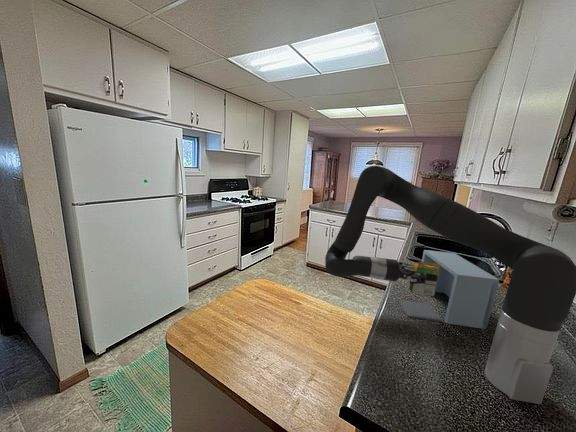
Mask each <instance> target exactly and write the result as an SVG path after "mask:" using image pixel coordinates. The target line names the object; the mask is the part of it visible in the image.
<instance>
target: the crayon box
mask: <svg viewBox="0 0 576 432" xmlns="http://www.w3.org/2000/svg"><path fill="white" fill-rule="evenodd" d="M424 264H430V265H434V266H428V265H424ZM413 265H414V269H413V270H418V272H421V273H427V274H434V275H437V276H438V275H439V271H440V266H441V264H435V263H427V262H422V261H418V263H414V264H413ZM414 275H415V273H414ZM437 280H438V278H437ZM436 284H437V281H436V282H434V281H427V280H426V282H425V283H422V284H411V283H409V290H410V292H411V293H412V294H420V295H424V296H432V297H434V296H435V293H436V292H435V289H436Z"/></svg>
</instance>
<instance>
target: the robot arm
mask: <svg viewBox="0 0 576 432" xmlns="http://www.w3.org/2000/svg"><path fill="white" fill-rule="evenodd" d="M378 197H379V198H381V199H382V198H383V199H384V200H386V201H389V202H391V203H393V204H396V205H398V206H399V207H401V208H402V209H404V210H405V211H407V212H408V213H409V214H410V215H411V216H412V218H414V219H415V220H416V221H418V222H419V223H420V224H422V225H423V226H425V227H426V228H428V229H430V230H431V231H433V232H435V233H436V234H438V235H440V236H442V237H444V238H446V239H447V240H451V241H453V242H455V243H458V244H461V245H464V246H467V247H469V248H473V249H475V250H478V251H480V252H483V253H484V254H487V255H488V256H490V257H492V258H494V260H497V261H498V262H500V263H502V264H503V265H505V266H506V267H508V268H509V269H511V270H512V272H511V275H510V279H509V282H508V287H507V291H506V293H505V295H504V300H503V301H502V305H501V310H500V313H499V318H498V320H497V325H496V327H495V332H494V335H493V338H492V343H491V346H490V348H489V349H490V350H489V354H488V358H487V362H486V364H485V369H484V376H485V377H486V379H487V380H488V381H489V383H491V384H492V385H493V386H494V387H495V388H496V389H498V391H501V392H502V393H503V394H505V395H506V396H507V397H508V398H509V399H510V400H514V401H518V402H519V401H521V402H523V403H524V402H525V403H531V404H536V405H542V403H543V399H544V397H545V393H546V391H547V387H548V385H549V382H550V379H551V377H552V373H553V370H554V366H553V365H552V364H551V363H550V361H551V357H552V355H553V352H554V349H555V346H556V343H557V340H558V338H559V334H560V330H561V328H562V325H563V323H564V322H565V321H566V320H567V318H568V316H569V313H570V310H571V308H572V305H573V302H574V300H575V297H576V264H575V262H574V261H573V260H572V258H570V257H569V256H568V255H567V254H566V253H565V252H563V251H561V250H559V249H558V248H554V247H552V246H549V245H546V244H544V243H542V242H539V241H536V240H533V239H531V238H528V237H525V236H523V235H521V234H518V233H515V232H513V231H511V230H509V229H506V228H504V227H503V226H501V225H499V224H498V223H496V222H494V221H493V220H491V219H489V218H488V217H487V216H485V215H482V214H480V213H479V212H477V211H475V210H473V209H471V208H469V207H468V206H465V205H463V204H461V203H459V202H457V201H455V200H453V199H452V198H449V197H446V196H444V195H441V194H439V193H437V192H434V191H431V190H428V189H425V188H423V187H420V186H417V185H415V184H413V183H411V182H409V181H408V180H406V179H404V178H403V177H401V176H399V175H398V174H397V173H395V172H393V171H392V170H390V169H389V168H386V167H384V166H381V165H380V166H379V165H376V164H375V165H369V166H367V167H366V168H364V169H363V170H362V171H361V173H360V175H359V177H358V180H357V183H356V185H355V189H354V193H353V196H352V200H351V201H350V204H349V205H350V206H349V208H348V211H347V214H346V216H345V218H344V221H343V223H342V225H341V226H340V229H339V231H338V233H337V235H336V237H335V240H334V241H333V242H332V244H331V245H330V247H329V248H328V250H327V252H326V254H325V256H324V257H325V258H324V261H325V265H324V266H325V267H324V268H325V270H326V272H327V273H328V274H330V275H331V276H333V277H338V278H339V277H340V278H343V277H353V276H359V277H366V278H371V279H375V280H381V281H387V282H394V283H395V282H397V281H398V279H402V280H405V281H409V284H410V283H411V284H422V283H425V282H426V280H427V281H434V282H436V281H437V278H438V276H437V275H434V274H427V273H421V272H418V270H413V269H414V264H409V263H406V262H402V261H398V260H397V259H392V258H385V257H378V256H377V257H375V256H374V257H372V256H366V255H355V256H353V257H352V258H351V259H350V258H348V259H347V258H346V257H347V255H348V254H349V253H351V252H353V250H354V249H355V248H356V245H357V244H358V242H359V240H360V238H361V236H362V234H363V232H364V228H365V223H366V219H367V215H368V213H369V210H370V208H371V206H372V204H373V203H374V201H375V200H376V198H378ZM414 273H415V275H414Z"/></svg>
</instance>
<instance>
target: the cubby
mask: <svg viewBox="0 0 576 432" xmlns="http://www.w3.org/2000/svg"><path fill="white" fill-rule="evenodd" d="M422 253H423V254H422V259H421V262H427V263H435V264H441V266H440V271H439V275H438V280H437V284H436V289H435V293H441V294H442V293H443V294H444V295H446V296H447V297H448V303H447V309H446V312H445V317H444V322H445V323H446V324H449V325H456V326H463V327H468V328H477V329H481V330H482V329H484V330H487V327H488V325H489V321H490V317H491V312H492V308H493V306H494V301H495V298H496V294H497V290H498V286H499V284H500V279H499V278H498V277H496V276H494V275H492V274H491V273H489V272H487V271H485V270H484V269H482V268H481V267H479V266H477V265H475V264H474V263H473V262H470V261H468V260H467V259H465V258H463V257H462V256H460V255H458V254H456V253H455V252H454V253H453V252H448V251H447V252H446V251H437V250H430V249H423V251H422ZM424 265H428V266H434V265H430V264H424Z"/></svg>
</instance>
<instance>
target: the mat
mask: <svg viewBox="0 0 576 432" xmlns="http://www.w3.org/2000/svg"><path fill="white" fill-rule="evenodd" d="M397 302H398V304H399V306H400V307H401V309H402V310H403V312H404V314H405V316H406V318H413V319H419V320H427V321H433V322H441V323H442V322H443V319H442V318H441V317H440V315H439V314H438V313H437V312H436V311H435V310H434V308H433V307H432V306H431V305H430V304H429V303H423V302H418V301H417V302H416V301H410V300H409V301H408V300H401V299H397Z"/></svg>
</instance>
